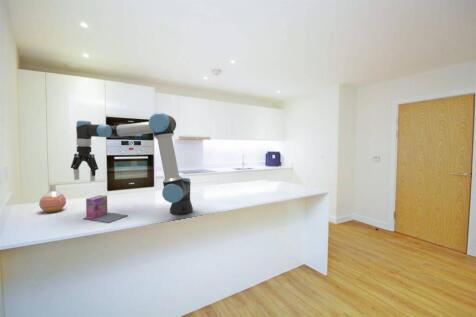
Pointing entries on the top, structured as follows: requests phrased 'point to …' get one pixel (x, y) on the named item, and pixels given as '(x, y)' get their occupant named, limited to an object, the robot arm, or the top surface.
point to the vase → (52, 200)
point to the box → (96, 206)
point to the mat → (108, 217)
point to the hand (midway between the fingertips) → (84, 180)
